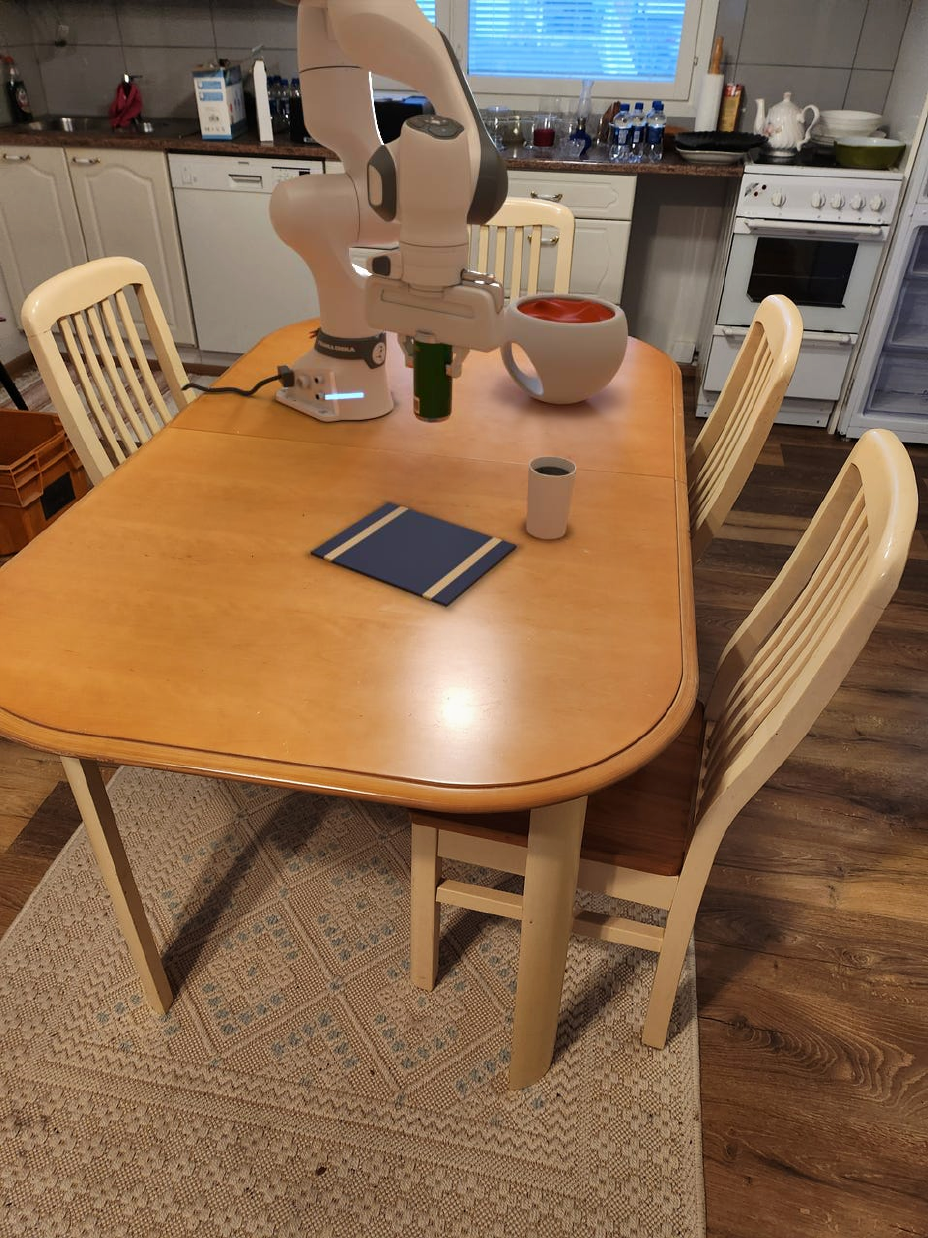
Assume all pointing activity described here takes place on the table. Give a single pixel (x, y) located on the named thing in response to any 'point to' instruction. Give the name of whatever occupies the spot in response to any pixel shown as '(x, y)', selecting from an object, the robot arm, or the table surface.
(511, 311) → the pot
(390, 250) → the robot arm
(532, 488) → the white coffee cup
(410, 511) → the cloth
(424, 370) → the green drink can
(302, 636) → the table surface
